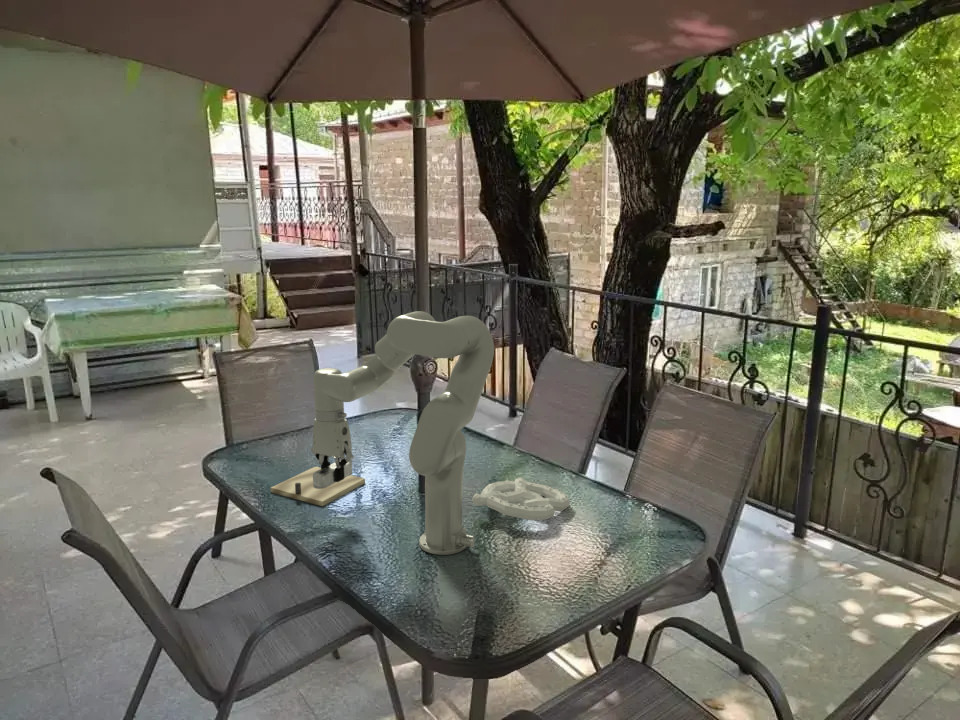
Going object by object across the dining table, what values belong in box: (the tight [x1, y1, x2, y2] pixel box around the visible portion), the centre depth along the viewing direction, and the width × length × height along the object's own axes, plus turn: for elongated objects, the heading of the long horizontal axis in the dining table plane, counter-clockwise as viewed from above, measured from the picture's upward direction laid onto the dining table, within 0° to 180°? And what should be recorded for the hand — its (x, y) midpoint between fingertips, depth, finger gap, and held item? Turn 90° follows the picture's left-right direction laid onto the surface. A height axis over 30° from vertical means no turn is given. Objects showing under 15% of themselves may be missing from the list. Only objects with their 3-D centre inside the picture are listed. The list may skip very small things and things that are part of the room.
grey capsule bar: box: [313, 459, 353, 489], centre depth 191 cm, size 4×14×4 cm, turn 152°
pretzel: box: [471, 477, 571, 521], centre depth 202 cm, size 28×24×6 cm
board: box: [270, 466, 366, 507], centre depth 215 cm, size 20×20×4 cm
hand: (333, 478), depth 192 cm, fingers closed on grey capsule bar, 4 cm apart
